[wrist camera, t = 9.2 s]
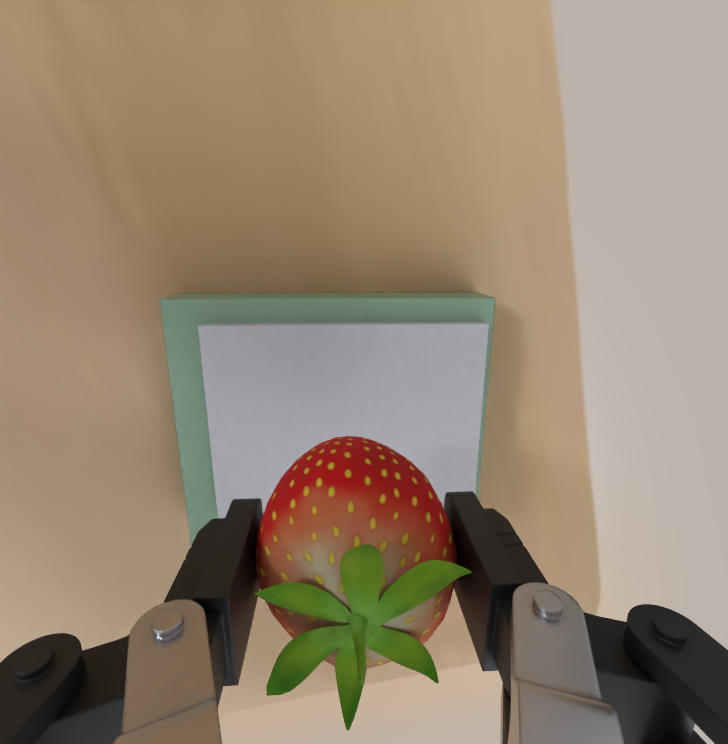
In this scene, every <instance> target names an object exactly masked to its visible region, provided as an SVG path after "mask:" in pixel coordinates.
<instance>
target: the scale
mask: <svg viewBox="0 0 728 744" xmlns="http://www.w3.org/2000/svg"><path fill="white" fill-rule="evenodd" d="M160 305H161V313H162V321H163V329H164V337H165V345H166V352H167V360H168V368H169V376H170V384H171V392H172V400H173V408H174V415H175V423H176V431H177V439H178V447H179V455H180V463H181V471H182V478H183V486H184V494H185V502H186V510H187V518H188V526H189V534H190V542H191V547H192V543H193V541H194V539H195V537H196V535H197V533H198V531H199V530H200V529H201V528H202V527H204V526H205V525H206V524H207V523H208V522H209V521H210V520H211V519H216V518H225V517H226V514H227V512H228V509H229V507H230V504H231V502H232V500H233V499H250V498H260V499H261V501H262V509H263V514H264V511H265V508H266V505H267V503H268V501H269V499H270V497H271V495H272V493H273V491H274V489H275V487H276V486H277V484H278V482H279V480H280V479H281V477H282V476H283V475H284V474H285V472H286V471H287V470H288V469H289V468H290V467H291V466H292V464H293V463H294V462H295V461H296V460H297V459H298V458H299V457H301V456H302V455H303V454H304V453H306V452H307V451H309V450H310V449H311V448H313V447H314V446H316V445H317V444H319V443H322V442H324V441H327V440H330V439H332V438H335V437H343V436H356V437H363V438H367V439H370V440H374V441H376V442H379V443H381V444H383V445H385V446H387V447H390V448H391V449H393V450H394V451H396V452H398V453H399V454H401V455H402V456H404V457H406V458H407V459H408V460H410V461H411V462H412V463H413V464H414V465H415V466H416V467H417V468H418V469H419V470H420V471H421V472H422V473H424V475H425V476H426V477H427V479H428V480H429V482H430V483H431V485H432V487H433V489H434V491H435V492H436V494H437V496H438V498H439V500H440V501H441V503H442V505H443V508H444V500H445V494H446V492H463V491H473V492H474V493H475V495H476V497H477V499H478V495H479V483H480V472H481V460H482V448H483V436H484V424H485V413H486V401H487V389H488V377H489V366H490V354H491V342H492V330H493V318H494V307H495V298H494V297H491V296H488V295H484V294H481V293H478V292H369V293H181V294H177V295H173V296H170V297H166V298H163V299H160Z"/></svg>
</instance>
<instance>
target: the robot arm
mask: <svg viewBox="0 0 728 744" xmlns="http://www.w3.org/2000/svg"><path fill="white" fill-rule="evenodd" d="M444 511H445V513H446V516H447V518H448V521H449V523H450V526H451V528H452V531H453V536H454V540H455V545H456V553H457V565H459V566H462V567H464V568H466V569H468V570H470V571H471V572H472V573H470V574H466V575H463V576H461V577H459V578H457V579H456V580H455V584H454V590H455V592H456V595H457V598H458V601H459V604H460V607H461V610H462V613H463V616H464V618H465V621H466V624H467V627H468V630H469V633H470V636H471V639H472V642H473V644H474V647H475V650H476V653H477V656H478V659H479V662H480V664H481V667H482V670H483V671H496V670H498V671H499V673H500V676H501V679H502V681H503V685H502V695H501V744H707V743H706V742H705V741H704V740H703V739H702V738H701V737H700V736H699V735H698V734H697V733H696V732H695V731H694V730H693V728H694V724H696V725H697V726H698V727H699V728H700V729H701V730H702V731H703V732H704V733H705V734H706V735H707V736H708V737H709V738H710V739H711V740H712V741H713V742H714V743H715V744H728V650H727V649H726V648H724V647H723V646H722V645H721V644H719V643H718V642H717V641H716V640H715V639H713V638H712V637H711V636H710V635H708V634H707V633H706V632H705V631H703V630H702V629H701V628H700V627H699V626H697V625H696V624H695V623H693V622H692V621H691V620H689V619H688V618H686V617H684V616H683V615H681V614H679V613H677V612H675V611H672V610H670V609H667V608H664V607H661V606H657V605H649V604H644V605H638V606H635V607H633V608H632V609H631V610H630V611H629V613H628V618H627V622H623V621H618V620H613V619H609V618H604V617H599V616H595V615H591V614H588V613H585V612H583V610H582V609H581V607H580V605H579V604H578V603H577V601H576V600H575V599H574V598H573V597H571V596H570V595H569V594H568V593H566V592H564V591H563V590H561V589H559V588H557V587H555V586H552V585H549V584H548V582H547V581H546V579H545V578H544V576H543V575H542V573H541V571H540V570H539V568H538V567H537V565H536V564H535V562H534V560H533V559H532V557H531V556H530V554H529V552H528V551H527V549H526V548H525V546H523V543H522V541H521V540H520V538H519V537H518V535H516V532H515V530H514V529H513V527H512V526H511V524H510V522H509V521H508V519H506V518H505V517H504V516H502V515H501V514H500V513H498V512H497V511H496V510H495V509H483V508H482V506H481V504H480V502H479V500H478V499H477V497H476V495H475V493H474V492H473V491H463V492H446V494H445V500H444ZM262 516H263V509H262V501H261V499H260V498H250V499H233V500H232V502H231V504H230V507H229V509H228V512H227V514H226V517H225V518H216V519H211V520H210V521H209V522H208V523H207V524H206V525H205V526H204V527H202V528H201V529H200V530H199V531H198V533H197V535H196V537H195V539H194V541H193V543H192V547H191V548H190V549H189V552H188V554H187V556H186V560H184V562H183V564H182V566H181V568H180V570H179V572H178V574H177V576H176V578H175V580H174V582H173V584H172V586H171V588H170V590H169V593H168V595H167V597H166V599H165V601H164V603H163V604H160V605H158V606H156V607H154V608H153V609H151V610H149V611H148V612H147V613H145V614H144V615H143V616H142V617H141V618H140V619H139V620H138V621H137V622H136V624H135V625H134V627H133V628H132V630H131V632H130V635H128V636H126V637H124V638H121V639H119V640H116V641H113V642H109V643H106V644H103V645H100V646H96V647H93V648H90V649H87V650H83V651H82V647H81V643H80V641H79V640H78V639H77V638H76V637H75V636H73V635H70V634H65V633H58V634H51V635H47V636H43V637H40V638H38V639H35V640H33V641H31V642H29V643H27V644H25V645H23V646H22V647H20V648H18V649H17V650H15V651H14V652H12V653H11V654H10V655H8V656H7V657H6V658H5V659H4V660H3V661H2V662H1V663H0V744H222V740H221V732H220V724H219V716H218V709H217V708H218V704H219V701H220V697H221V693H222V689H223V686H231V685H238V683H239V678H240V674H241V670H242V665H243V661H244V656H245V652H246V647H247V643H248V638H249V634H250V629H251V625H252V621H253V616H254V612H255V607H256V603H257V598H258V596H257V595H256V594H255V592H258V591H259V589H260V585H259V581H258V577H257V570H256V559H255V558H256V542H257V535H258V529H259V526H260V523H261V519H262Z"/></svg>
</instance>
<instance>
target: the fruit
mask: <svg viewBox="0 0 728 744" xmlns="http://www.w3.org/2000/svg"><path fill="white" fill-rule="evenodd" d="M255 559H256V570H257V577H258V581H259V585H260V589H261V590H260V591H258V592H255V594H256V595H257V596H259V597H261V598H262V599H264V600H266V602H267V604H268V606H269V608H270V610H271V612H272V614H273V615H274V617H275V618H276V619H277V620H278V622H279V623H280V624H281V625H282V627H283V628H284V629H285V630H286V631H287V632H288V633H289V635H290V636H291V637H292V638H293V640H291V641H290V642H289V643H288V644H287V645H286V646H285V648H284V649H283V650H282V652H281V653H280V655H279V657H278V658H277V661H276V663H275V665H274V667H273V670H272V673H271V675H270V678H269V681H268V684H267V696H269V695H281V694H284V693H286V692H289V691H291V690H292V689H294V688H295V687H296V686H297V685H299V684H300V683H301V682H302V681H303V680H304V679H306V678H307V677H308V676H309V674H310V673H311V672H312V671H313V670H314V669H315V668H316V667H317V666H318V665H319V664H320V663H321V662H322V661H323V660H324V661H326V662H328V663H330V664H332V665H334V666H335V672H336V680H337V686H338V692H339V697H340V703H341V708H342V713H343V717H344V722H345V726H346V729H347V730H349V729H350V727H351V724H352V722H353V719H354V716H355V713H356V710H357V707H358V703H359V700H360V696H361V692H362V688H363V685H364V681H365V674H366V669H367V668H370V667H374V666H378V665H382V664H385V663H388V662H390V661H394V662H396V663H398V664H400V665H403V666H405V667H407V668H410V669H412V670H415V671H417V672H420V673H422V674H424V675H426V676H428V677H429V678H430V679H432V680H433V681H434V682H436V683H438V676H437V672H436V668H435V665H434V662H433V660H432V658H431V656H430V654H429V652H428V651H427V649H426V648H425V647H424V646H423V645H422V644H424V643H425V642H426V641H428V639H429V638H430V637H431V635H432V634H433V633H434V631H435V630H436V629H437V627H438V626H439V625H440V623H441V622H442V621H443V619H444V617H445V614H446V611H447V609H448V606H449V604H450V600H451V596H452V592H453V588H454V584H455V580H456V579H457V578H459V577H461V576H463V575H466V574H470V573H472V572H471V571H470V570H468V569H466V568H464V567H462V566H459V565H457V553H456V545H455V540H454V536H453V531H452V528H451V526H450V523H449V521H448V518H447V516H446V513H445V511H444V508H443V505H442V503H441V501H440V500H439V498H438V496H437V494H436V492H435V491H434V489H433V487H432V485H431V483H430V482H429V480H428V479H427V477H426V476H425V475H424V473H422V472H421V471H420V470H419V469H418V468H417V467H416V466H415V465H414V464H413V463H412V462H411V461H410V460H408V459H407V458H406V457H404V456H402V455H401V454H399V453H398V452H396V451H394V450H393V449H391V448H390V447H387V446H385V445H383V444H381V443H379V442H376V441H374V440H370V439H367V438H363V437H356V436H343V437H335V438H332V439H330V440H327V441H324V442H322V443H319V444H317V445H316V446H314V447H313V448H311V449H310V450H309V451H307V452H306V453H304V454H303V455H302V456H301V457H299V458H298V459H297V460H296V461H295V462H294V463H293V464H292V466H291V467H290V468H289V469H288V470H287V471H286V472H285V474H284V475H283V476H282V477H281V479H280V480H279V482H278V484H277V486H276V487H275V489H274V491H273V493H272V495H271V497H270V499H269V501H268V503H267V505H266V508H265V511H264V514H263V516H262V519H261V523H260V526H259V529H258V535H257V542H256V558H255Z"/></svg>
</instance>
